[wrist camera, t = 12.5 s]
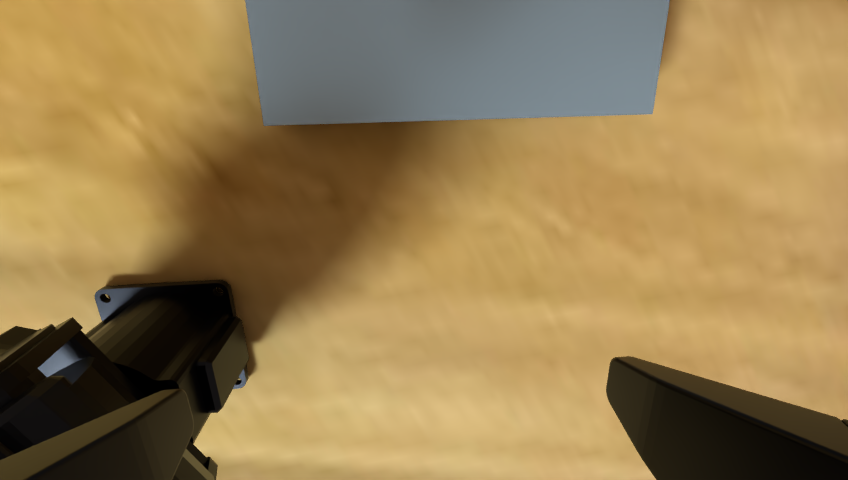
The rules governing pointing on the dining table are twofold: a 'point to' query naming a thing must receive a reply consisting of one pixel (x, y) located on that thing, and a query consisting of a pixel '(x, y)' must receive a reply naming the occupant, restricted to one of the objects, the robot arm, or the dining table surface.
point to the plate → (454, 59)
